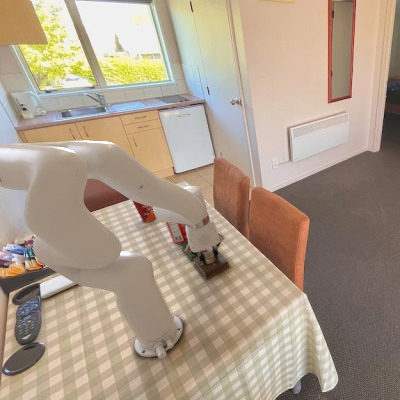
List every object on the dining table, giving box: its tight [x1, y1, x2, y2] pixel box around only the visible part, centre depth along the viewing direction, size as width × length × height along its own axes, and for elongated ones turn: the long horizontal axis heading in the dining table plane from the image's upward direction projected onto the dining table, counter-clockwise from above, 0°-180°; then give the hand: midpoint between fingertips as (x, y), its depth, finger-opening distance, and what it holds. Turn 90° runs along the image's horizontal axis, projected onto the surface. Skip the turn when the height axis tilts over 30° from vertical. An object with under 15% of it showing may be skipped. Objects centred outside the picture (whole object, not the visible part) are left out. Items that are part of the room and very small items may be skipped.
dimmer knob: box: [202, 247, 216, 264], centre depth 101 cm, size 4×4×5 cm
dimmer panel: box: [193, 251, 230, 280], centre depth 103 cm, size 11×9×3 cm
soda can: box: [165, 222, 188, 245], centre depth 115 cm, size 8×8×15 cm
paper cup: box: [130, 199, 156, 223], centre depth 129 cm, size 8×8×14 cm
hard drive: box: [39, 274, 77, 300], centre depth 97 cm, size 2×8×12 cm
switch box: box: [181, 242, 213, 262], centre depth 111 cm, size 10×9×4 cm
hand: (209, 258), depth 102 cm, fingers closed on dimmer knob, 4 cm apart
